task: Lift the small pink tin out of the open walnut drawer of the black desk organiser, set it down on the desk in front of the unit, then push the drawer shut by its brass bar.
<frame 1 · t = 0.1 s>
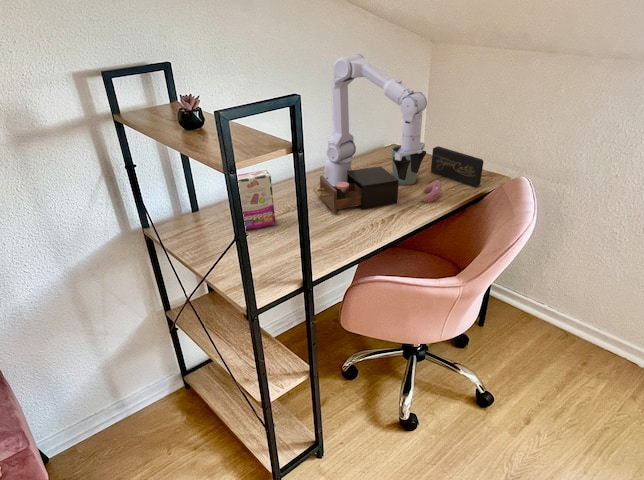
hand: (408, 175, 160), 10 cm above the table, tool pointing down, fingers open, 7 cm apart
nameplate: (454, 179, 184), on the table
pink curved piece: (431, 198, 170), on the table
drawer: (339, 192, 163), point 4 cm above the table, slide at 8.5 cm, touching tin
green cup: (403, 180, 183), on the table
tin: (342, 198, 165), point 2 cm above the table, touching drawer
candy bar box: (256, 225, 152), on the table
organiser: (370, 198, 169), on the table
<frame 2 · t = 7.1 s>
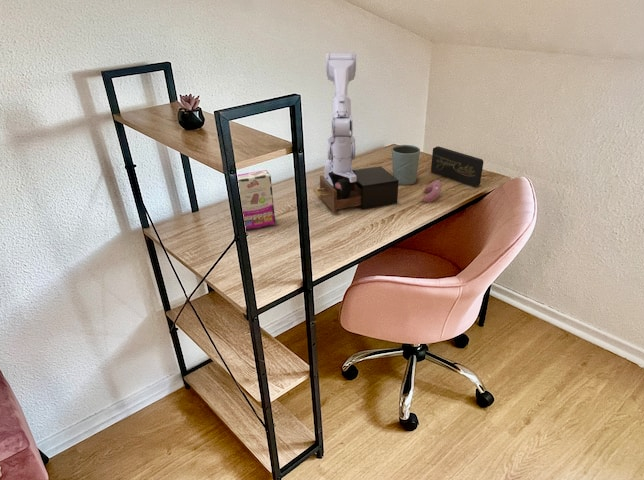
hand: (342, 195, 164), 3 cm above the table, tool pointing down, fingers closed on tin, 4 cm apart
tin: (342, 198, 165), point 2 cm above the table, touching drawer, gripper
everything else where it was.
when the fingers open (1 cm above the table, at t = 12.1 s): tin stays where it is, on the table.
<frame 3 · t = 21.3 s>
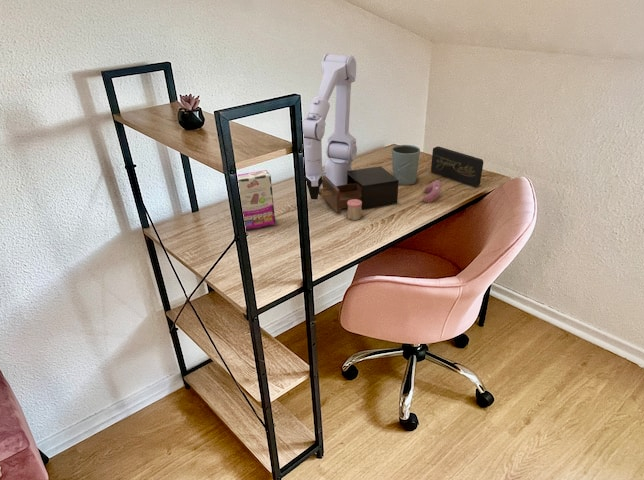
hand: (314, 198, 161), 3 cm above the table, tool pointing down, fingers closed
drawer: (341, 191, 163), point 4 cm above the table, slide at 7.6 cm, touching gripper
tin: (354, 217, 157), on the table
everything else where it was.
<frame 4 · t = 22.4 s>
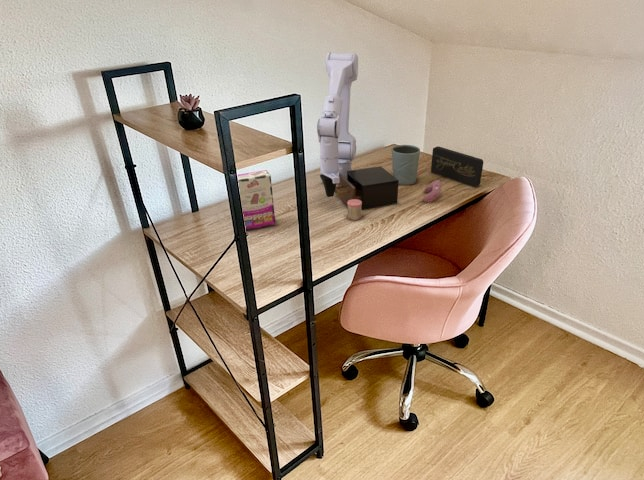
hand: (329, 196, 162), 3 cm above the table, tool pointing down, fingers closed, pressing on drawer
drawer: (356, 189, 165), point 4 cm above the table, slide at 2.2 cm, touching gripper
everything else where it was.
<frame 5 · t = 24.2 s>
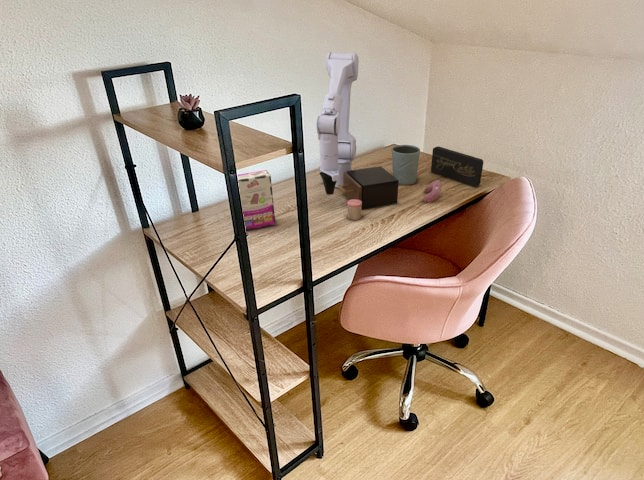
hand: (329, 193, 162), 4 cm above the table, tool pointing down, fingers closed
drawer: (362, 188, 166), point 4 cm above the table, slide at 0.0 cm
everything else where it was.
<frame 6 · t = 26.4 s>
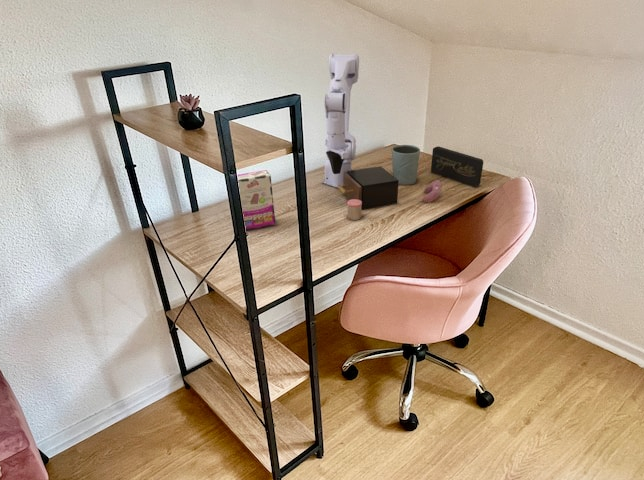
hand: (336, 173, 162), 10 cm above the table, tool pointing down, fingers closed
nothing on the table moved.
at the end: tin 0.0 cm from the target spot, on the table; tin tilted 0°; drawer slide at 0.0 cm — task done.
